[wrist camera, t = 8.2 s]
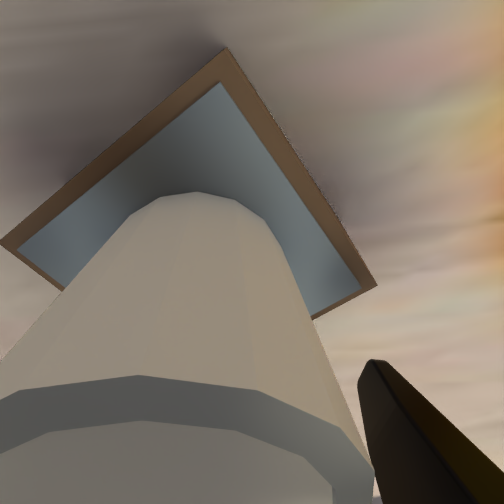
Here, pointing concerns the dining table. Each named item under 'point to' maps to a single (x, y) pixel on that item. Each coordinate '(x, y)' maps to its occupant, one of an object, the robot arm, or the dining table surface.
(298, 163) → the walnut plinth
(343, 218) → the dining table surface
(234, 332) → the shot glass
